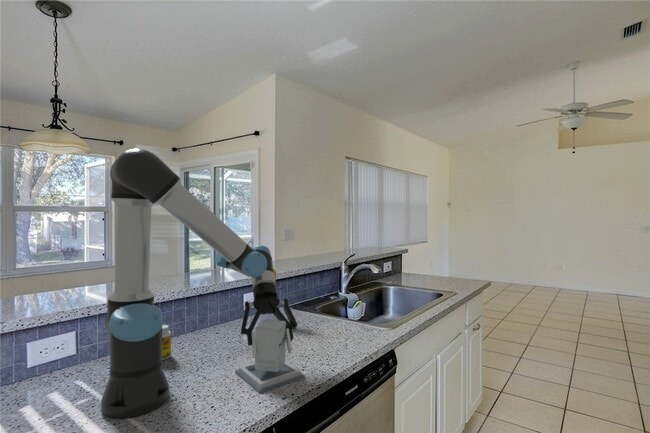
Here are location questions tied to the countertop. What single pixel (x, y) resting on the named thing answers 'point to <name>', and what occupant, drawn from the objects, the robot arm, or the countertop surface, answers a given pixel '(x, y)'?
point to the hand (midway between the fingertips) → (272, 353)
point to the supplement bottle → (166, 342)
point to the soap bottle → (268, 316)
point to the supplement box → (270, 345)
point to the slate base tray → (268, 376)
